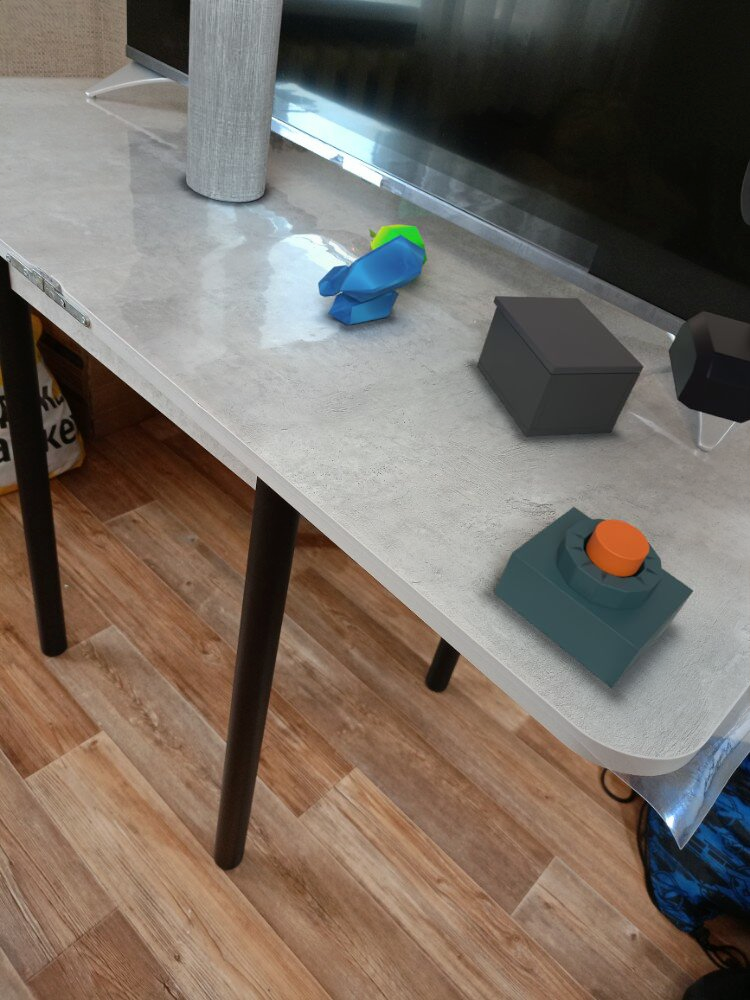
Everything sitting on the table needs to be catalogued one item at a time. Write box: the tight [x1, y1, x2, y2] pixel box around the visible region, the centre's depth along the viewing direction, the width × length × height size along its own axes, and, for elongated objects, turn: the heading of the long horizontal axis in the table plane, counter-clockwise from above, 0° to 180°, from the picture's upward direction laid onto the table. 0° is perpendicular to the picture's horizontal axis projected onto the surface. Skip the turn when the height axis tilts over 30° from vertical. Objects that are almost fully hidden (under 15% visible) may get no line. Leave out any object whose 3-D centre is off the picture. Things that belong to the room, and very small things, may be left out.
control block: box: [493, 506, 694, 689], centre depth 52 cm, size 10×8×6 cm
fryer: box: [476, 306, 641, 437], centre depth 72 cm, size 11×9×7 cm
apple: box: [368, 223, 428, 268], centre depth 87 cm, size 7×6×9 cm
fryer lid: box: [493, 295, 644, 374], centre depth 70 cm, size 12×9×1 cm
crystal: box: [317, 235, 426, 326], centre depth 77 cm, size 7×9×12 cm
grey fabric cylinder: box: [185, 0, 284, 203], centre depth 88 cm, size 10×10×27 cm
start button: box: [586, 519, 650, 577], centre depth 49 cm, size 4×4×2 cm
